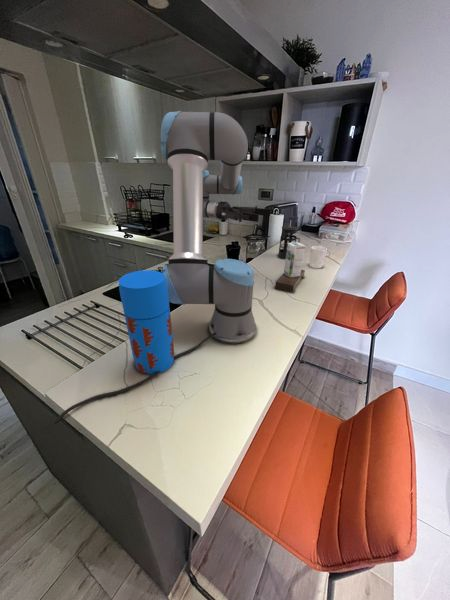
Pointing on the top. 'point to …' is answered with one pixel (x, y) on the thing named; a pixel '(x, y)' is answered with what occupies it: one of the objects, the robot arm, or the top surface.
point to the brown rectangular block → (288, 282)
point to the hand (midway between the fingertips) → (264, 215)
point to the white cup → (317, 256)
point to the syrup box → (294, 259)
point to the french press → (287, 230)
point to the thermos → (148, 319)
